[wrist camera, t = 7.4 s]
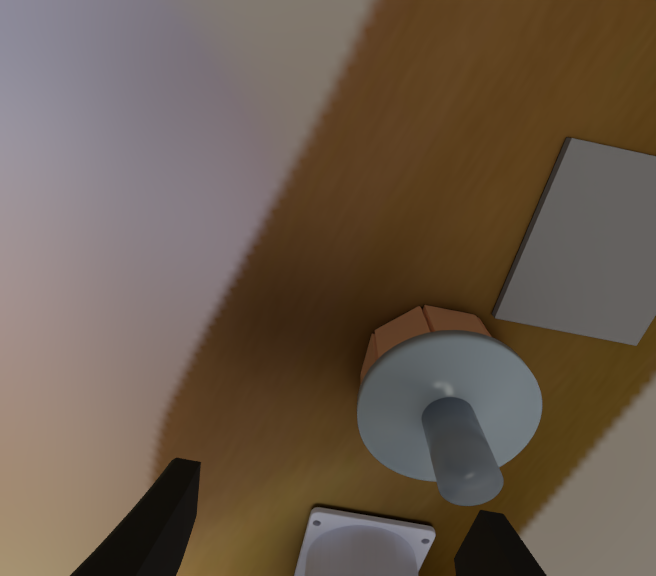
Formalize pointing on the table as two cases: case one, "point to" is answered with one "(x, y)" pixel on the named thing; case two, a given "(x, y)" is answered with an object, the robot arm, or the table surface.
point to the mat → (589, 247)
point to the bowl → (417, 329)
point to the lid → (449, 411)
